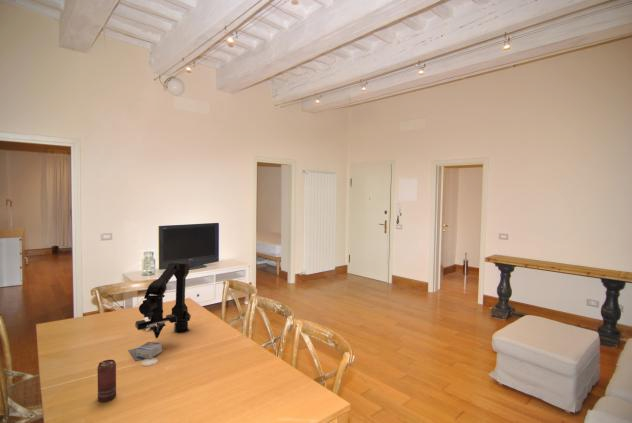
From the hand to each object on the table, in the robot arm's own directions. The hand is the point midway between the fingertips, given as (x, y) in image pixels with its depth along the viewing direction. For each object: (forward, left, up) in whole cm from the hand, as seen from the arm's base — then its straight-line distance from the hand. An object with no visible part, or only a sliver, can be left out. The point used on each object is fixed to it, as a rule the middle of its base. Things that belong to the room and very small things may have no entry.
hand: (156, 338), depth 178 cm
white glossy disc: (+7, +13, -6) cm, 15 cm away
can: (+28, +32, -6) cm, 43 cm away
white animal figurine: (-3, -32, -6) cm, 33 cm away
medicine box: (+1, +2, -3) cm, 4 cm away
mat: (+7, 0, -6) cm, 9 cm away
